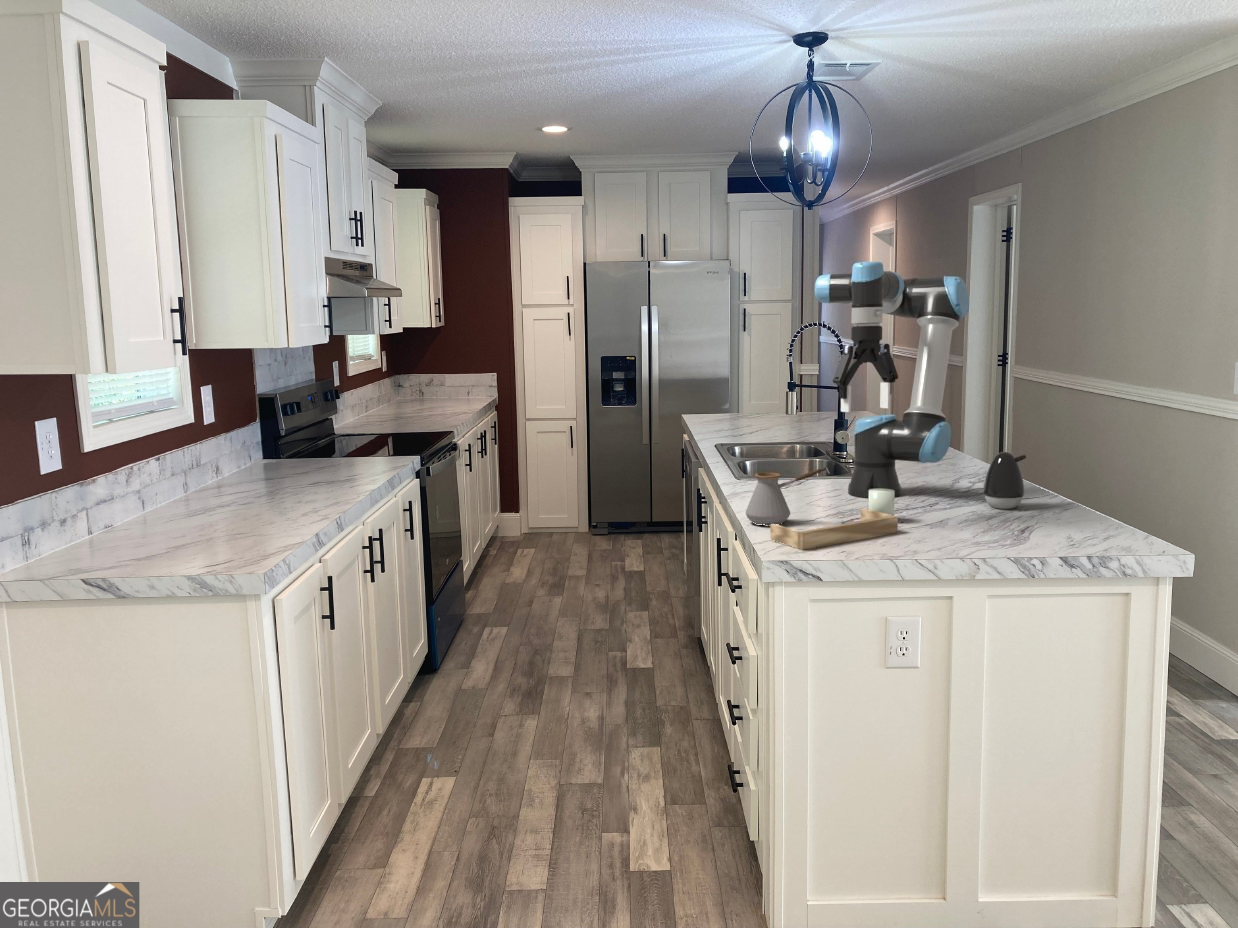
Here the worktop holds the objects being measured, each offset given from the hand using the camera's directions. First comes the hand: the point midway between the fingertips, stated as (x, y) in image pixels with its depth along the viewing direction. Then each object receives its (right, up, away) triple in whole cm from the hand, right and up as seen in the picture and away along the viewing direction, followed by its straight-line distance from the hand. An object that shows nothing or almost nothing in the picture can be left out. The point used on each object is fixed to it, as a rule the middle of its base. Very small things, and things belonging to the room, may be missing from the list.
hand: (865, 410), depth 236 cm
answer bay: (-10, -31, -11) cm, 35 cm away
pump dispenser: (+42, -26, +16) cm, 52 cm away
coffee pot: (-19, -29, +5) cm, 35 cm away
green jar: (+5, -28, +4) cm, 29 cm away
